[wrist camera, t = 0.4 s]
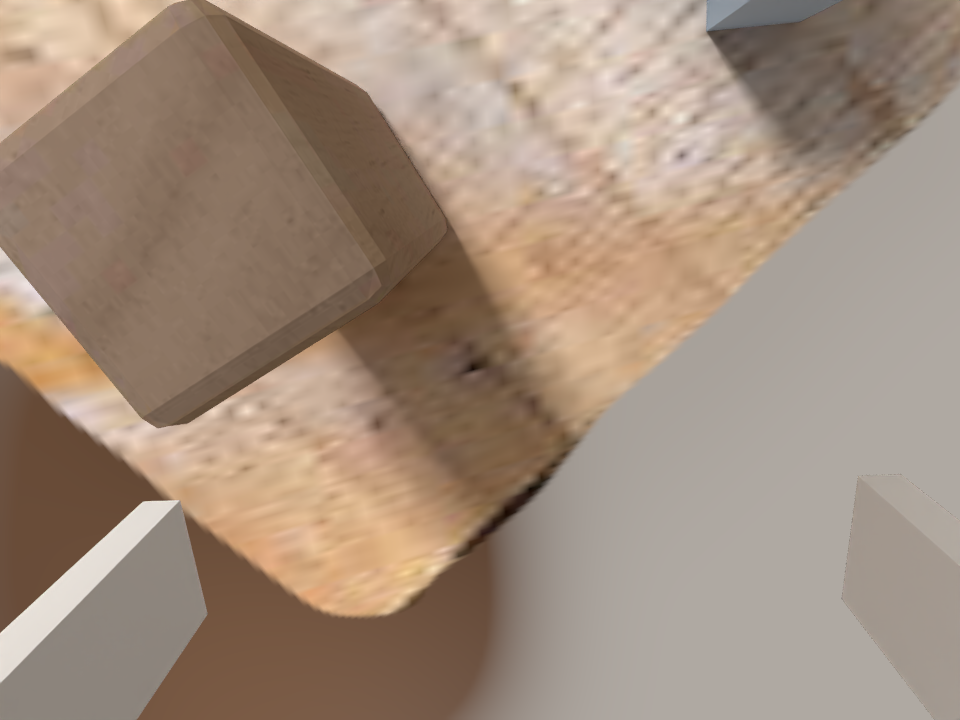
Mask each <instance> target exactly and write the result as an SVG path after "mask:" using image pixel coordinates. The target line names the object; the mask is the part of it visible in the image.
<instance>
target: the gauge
mask: <svg viewBox="0 0 960 720" xmlns="http://www.w3.org/2000/svg"><path fill="white" fill-rule="evenodd" d="M840 1H842V0H707V25H706V31H715V30H724V29H734V28H744V27H754V26H764V25H773V24H783V23H793V22H801V21H803V20H805V19H807V18H809V17H811V16H813V15H815V14H817V13H818V12H820V11H822V10H824V9H826V8H828V7H830V6H832V5H834V4H836V3H838V2H840Z"/></svg>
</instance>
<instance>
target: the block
mask: <svg viewBox="0 0 960 720" xmlns="http://www.w3.org/2000/svg"><path fill="white" fill-rule="evenodd" d="M446 232H447V225H446V220H445V217H444V215H443V213H442V212H441V210H440V209H439V207H438V205H437V204H436V202H435V201H434V199H433V197H432V196H431V194H430V192H429V191H428V189H427V188H426V186H425V184H424V183H423V181H422V180H421V178H420V176H419V175H418V173H417V172H416V170H415V168H414V167H413V165H412V164H411V162H410V160H409V159H408V157H407V156H406V154H405V152H404V151H403V149H402V148H401V146H400V144H399V143H398V141H397V140H396V138H395V136H394V135H393V133H392V132H391V130H390V128H389V127H388V125H387V124H386V122H385V120H384V119H383V117H382V116H381V114H380V112H379V111H378V109H377V108H376V106H375V104H374V103H373V101H372V100H371V98H370V96H369V95H368V93H367V92H365V91H364V90H363V89H361V88H360V87H358V86H357V85H356V84H354V83H352V82H350V81H349V80H347V79H345V78H343V77H341V76H340V75H338V74H336V73H334V72H333V71H331V70H329V69H327V68H325V67H324V66H322V65H320V64H318V63H317V62H315V61H313V60H311V59H309V58H308V57H306V56H304V55H302V54H301V53H299V52H297V51H295V50H293V49H292V48H290V47H288V46H286V45H284V44H283V43H281V42H279V41H277V40H276V39H274V38H272V37H270V36H268V35H267V34H265V33H263V32H261V31H260V30H258V29H256V28H254V27H252V26H251V25H249V24H247V23H245V22H244V21H242V20H240V19H238V18H236V17H235V16H233V15H231V14H229V13H228V12H226V11H224V10H222V9H220V8H219V7H217V6H215V5H213V4H211V3H210V2H208V1H206V0H186V1H182V2H177V3H174V4H172V5H170V6H168V7H167V8H166V9H164V10H163V11H162V12H161V13H159V14H158V15H157V16H156V17H155V18H153V19H152V20H151V21H150V22H148V23H147V24H146V25H145V26H143V27H142V28H141V29H140V30H139V31H137V32H136V33H135V34H134V35H132V36H131V37H130V38H129V39H127V40H126V41H125V42H124V43H123V44H121V45H120V46H119V47H118V48H116V49H115V50H114V51H113V52H111V53H110V54H109V55H108V56H107V57H105V58H104V59H103V60H102V61H100V62H99V63H98V64H97V65H95V66H94V67H93V68H92V69H91V70H89V71H88V72H87V73H86V74H84V75H83V76H82V77H81V78H79V79H78V80H77V81H76V82H75V83H73V84H72V85H71V86H70V87H68V88H67V89H66V90H65V91H63V92H62V93H61V94H60V95H59V96H57V97H56V98H55V99H54V100H52V101H51V102H50V103H49V104H47V105H46V106H45V107H44V108H43V109H41V110H40V111H39V112H38V113H36V114H35V115H34V116H33V117H32V118H30V119H29V120H28V121H27V122H25V123H24V124H23V125H22V126H20V127H19V128H18V129H17V130H16V131H14V132H13V133H12V134H11V135H9V136H8V137H7V138H6V139H4V140H3V141H2V142H1V143H0V247H1V248H2V250H3V251H4V252H5V253H6V254H7V256H8V257H9V258H10V259H11V261H12V262H13V263H14V264H15V265H16V267H17V268H18V269H19V270H20V271H21V273H22V274H23V275H24V276H25V278H26V279H27V280H28V281H29V282H30V284H31V285H32V286H33V287H34V288H35V290H36V291H37V292H38V293H39V295H40V296H41V297H42V298H43V299H44V301H45V302H46V303H47V304H48V305H49V307H50V308H51V309H52V310H53V311H54V313H55V314H56V315H57V316H58V318H59V319H60V320H61V321H62V322H63V324H64V325H65V326H66V327H67V328H68V330H69V331H70V332H71V333H72V335H73V336H74V337H75V338H76V339H77V341H78V342H79V343H80V344H81V345H82V347H83V348H84V349H85V350H86V352H87V353H88V354H89V355H90V356H91V358H92V359H93V360H94V361H95V362H96V364H97V365H98V366H99V367H100V368H101V370H102V371H103V372H104V373H105V375H106V376H107V377H108V378H109V379H110V381H111V382H112V383H113V384H114V385H115V387H116V388H117V389H118V390H119V392H120V393H121V394H122V395H123V396H124V398H125V399H126V400H127V401H128V402H129V404H130V405H131V406H132V407H133V409H134V410H135V411H136V412H137V413H138V415H139V416H140V417H141V418H142V419H144V420H145V421H147V422H148V423H150V424H152V425H153V426H155V427H156V428H162V427H166V426H173V425H180V424H187V423H189V422H191V421H192V420H194V419H195V418H197V417H199V416H200V415H202V414H203V413H205V412H207V411H208V410H210V409H211V408H213V407H214V406H216V405H218V404H219V403H221V402H222V401H224V400H226V399H227V398H229V397H230V396H232V395H234V394H235V393H237V392H238V391H240V390H241V389H243V388H245V387H246V386H248V385H249V384H251V383H253V382H254V381H256V380H257V379H259V378H260V377H262V376H264V375H265V374H267V373H268V372H270V371H272V370H273V369H275V368H276V367H278V366H280V365H281V364H283V363H284V362H286V361H287V360H289V359H291V358H292V357H294V356H295V355H297V354H299V353H300V352H302V351H303V350H305V349H306V348H308V347H310V346H311V345H313V344H314V343H316V342H318V341H319V340H321V339H322V338H324V337H326V336H327V335H329V334H330V333H332V332H333V331H335V330H337V329H338V328H340V327H341V326H343V325H345V324H346V323H348V322H349V321H351V320H353V319H354V318H356V317H357V316H359V315H360V314H362V313H364V312H365V311H367V310H368V309H370V308H372V307H373V306H375V305H376V304H378V303H379V302H380V301H381V300H382V299H383V298H384V297H385V296H386V295H387V294H388V293H389V292H390V291H391V290H392V289H393V288H394V287H395V286H396V285H397V284H398V283H399V282H400V281H401V280H402V279H403V278H404V277H405V276H406V275H407V274H408V273H409V272H410V271H411V270H412V269H413V268H414V267H415V266H416V265H417V264H418V263H419V262H420V261H421V260H422V259H423V258H424V257H425V256H426V255H427V254H428V253H429V252H430V251H431V250H432V249H433V248H434V247H435V246H436V245H437V244H438V243H439V242H440V240H441V239H442V238H443V236H444V235H445V233H446Z"/></svg>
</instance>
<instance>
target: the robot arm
mask: <svg viewBox="0 0 960 720" xmlns="http://www.w3.org/2000/svg"><path fill="white" fill-rule="evenodd" d="M842 600H843V601H844V602H845V604H846V605H847V606H848V608H849V609H850V610H851V612H852V613H853V614H854V616H855V617H856V618H857V619H858V621H859V622H860V623H861V625H862V626H863V627H864V628H865V630H866V631H867V632H868V634H869V635H870V636H871V637H872V639H873V640H874V642H875V643H876V644H877V645H878V647H879V648H880V649H881V651H882V652H883V653H884V655H885V656H886V657H887V658H888V660H889V661H890V662H891V664H892V665H893V666H894V667H895V669H896V670H897V671H898V673H899V674H900V675H901V677H902V678H903V679H904V681H905V682H906V683H907V684H908V686H909V687H910V688H911V690H912V691H913V692H914V694H915V695H916V696H917V697H918V699H919V700H920V701H921V703H922V704H923V705H924V707H925V708H926V709H927V711H928V712H929V713H930V714H931V716H932V717H933V718H934V720H960V521H959V520H958V519H957V518H955V517H954V516H953V515H952V514H951V513H949V512H948V511H947V510H945V509H944V508H943V507H942V506H940V505H939V504H938V503H937V502H935V501H934V500H933V499H932V498H930V497H929V496H927V495H926V494H925V493H924V492H922V491H921V490H920V489H919V488H918V487H916V486H915V485H914V484H913V483H911V482H910V481H909V480H907V479H906V478H905V477H904V476H902V475H901V474H897V475H896V474H894V475H867V476H858V481H857V488H856V496H855V503H854V511H853V518H852V526H851V533H850V540H849V548H848V556H847V563H846V570H845V578H844V586H843V593H842ZM206 615H207V610H206V606H205V602H204V598H203V594H202V589H201V585H200V581H199V577H198V573H197V568H196V565H195V560H194V556H193V552H192V548H191V544H190V540H189V535H188V531H187V527H186V523H185V519H184V515H183V511H182V506H181V502H180V500H173V501H146V502H142V503H141V504H140V505H139V506H138V507H137V508H136V509H135V510H134V511H132V513H130V514H129V515H128V516H127V517H126V518H125V519H124V520H123V521H122V522H121V523H119V524H118V525H117V526H116V527H115V528H114V529H113V530H112V531H111V532H110V533H109V534H108V535H106V536H105V537H104V538H103V539H102V540H101V541H100V542H99V543H98V544H97V545H96V546H95V547H94V548H92V549H91V550H90V551H89V552H88V553H87V554H86V555H85V556H84V557H83V558H81V559H80V560H79V561H78V562H77V563H76V564H75V565H74V566H73V567H72V568H70V570H69V571H67V572H66V573H65V574H64V575H63V576H62V577H61V578H60V579H59V580H57V581H56V582H55V583H54V584H53V585H52V586H51V587H50V588H49V589H48V590H47V591H46V592H44V593H43V594H42V595H41V596H40V597H39V598H38V599H37V600H36V601H35V602H34V603H33V604H31V605H30V606H29V607H28V608H27V609H26V610H25V611H24V612H23V613H22V614H20V615H19V616H18V617H17V618H16V619H15V620H14V621H13V622H12V623H11V624H10V625H9V626H7V627H6V628H5V629H4V630H3V631H2V632H1V633H0V720H137V718H138V717H139V715H140V714H141V712H142V711H143V709H144V708H145V706H146V705H147V703H148V702H149V700H150V699H151V697H152V696H153V694H154V693H155V691H156V690H157V688H158V687H159V685H160V684H161V682H162V681H163V679H164V678H165V677H166V675H167V673H168V672H169V671H170V669H171V667H172V666H173V664H174V663H175V662H176V660H177V659H178V657H179V656H180V654H181V653H182V651H183V650H184V648H185V647H186V645H187V644H188V642H189V641H190V639H191V638H192V636H193V635H194V633H195V632H196V630H197V629H198V627H199V626H200V624H201V622H202V621H203V620H204V618H205V617H206Z"/></svg>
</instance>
